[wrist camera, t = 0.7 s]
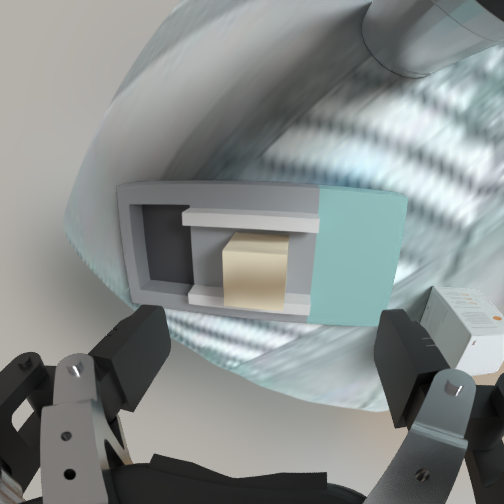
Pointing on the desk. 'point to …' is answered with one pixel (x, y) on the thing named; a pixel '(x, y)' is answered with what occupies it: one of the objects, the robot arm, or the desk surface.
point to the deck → (263, 222)
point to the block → (255, 271)
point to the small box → (465, 329)
